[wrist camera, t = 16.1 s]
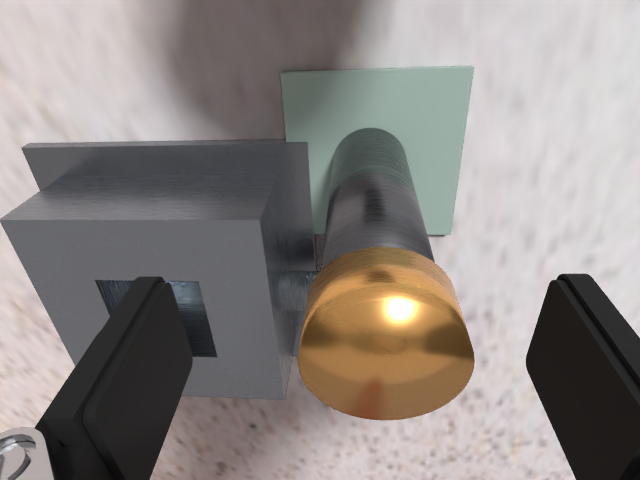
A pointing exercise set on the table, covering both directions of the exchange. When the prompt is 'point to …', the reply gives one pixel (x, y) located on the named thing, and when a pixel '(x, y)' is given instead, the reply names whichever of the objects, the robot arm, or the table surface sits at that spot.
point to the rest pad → (384, 127)
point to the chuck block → (177, 247)
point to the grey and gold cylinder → (380, 295)
